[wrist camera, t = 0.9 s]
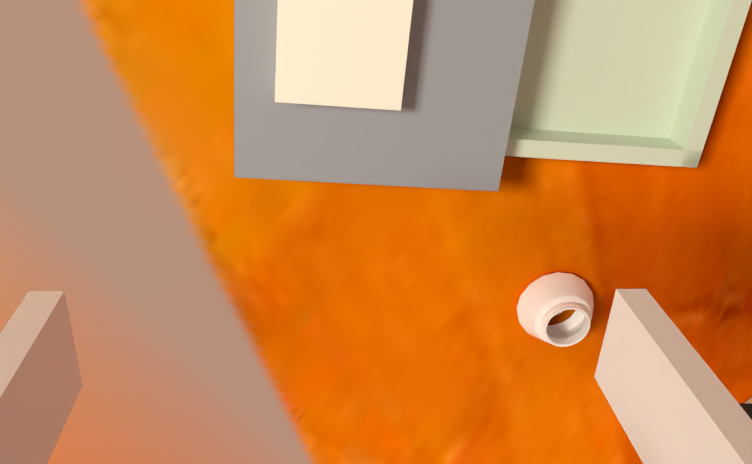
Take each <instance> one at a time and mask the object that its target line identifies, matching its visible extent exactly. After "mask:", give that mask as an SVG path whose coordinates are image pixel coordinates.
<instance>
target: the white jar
mask: <svg viewBox="0 0 752 464" xmlns="http://www.w3.org/2000/svg"><path fill="white" fill-rule="evenodd" d="M593 308H594V301H593V293H592V291H591V290H590V288H589V287H588V285H587V284H586V282H585V281H584V280H583V279H581V278H579V277H578V276H576V275H574V274H571V273H561V272H556V273H552V274H548V275H544V276H542V277H540V278H539V279H537V280H535V281H534V282H532V283H531V284H529V285H528V287H527V288H526V289H525V290H524V292H523V293H522V294H521V295H520V298H519V302H518V305H517V314H518V320H519V322H520V324H521V325H522V327H523V328H524V329H525V330H526V332H527V333H529V334H531V335H533V336H535V337H537V338H539V339H541V340H543V341H545V342H548V343H550V344H552V345H555V346H560V347H566V346H571V345H574V344H576V343H578V342H579V341H581V340H582V339H583V338H584V337H585V336H586V335H587V333H588V332H589V329H590V325H591V319H592V315H593ZM564 310H576V311H575V312H574V313H573V314H572V316H571V317H570V318H568V319H567V320H565V321H563V322H562V323H559V324H555V325H548V323H549V321H550V320H551V318H552V317H553V316H555V315H558V314H560V313H562V312H563V311H564Z"/></svg>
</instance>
